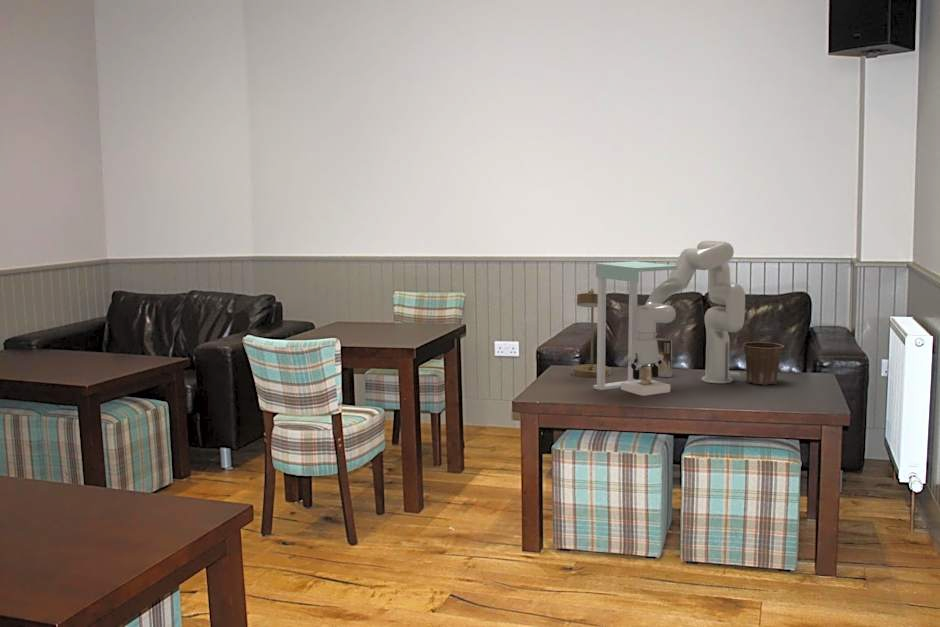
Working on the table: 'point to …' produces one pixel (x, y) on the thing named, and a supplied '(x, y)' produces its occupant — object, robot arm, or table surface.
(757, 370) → the plant pot
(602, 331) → the green-topped side table
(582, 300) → the lamp
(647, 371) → the dowel
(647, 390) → the socket
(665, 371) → the coffee box
